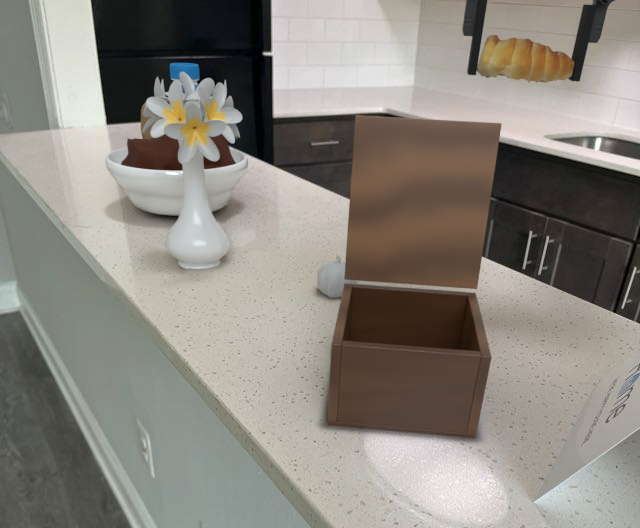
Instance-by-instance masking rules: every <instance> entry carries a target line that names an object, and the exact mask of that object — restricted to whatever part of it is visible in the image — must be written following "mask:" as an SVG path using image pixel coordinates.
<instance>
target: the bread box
mask: <svg viewBox="0 0 640 528" xmlns="http://www.w3.org/2000/svg"><path fill="white" fill-rule="evenodd" d="M330 345H331V347H330V365H329V387H328V407H327V423H326V425H327V426H333V427H344V428H354V429H355V428H356V429H366V430H376V431H377V430H378V431H389V432H399V433H400V432H401V433H410V434H411V433H412V434H423V435H433V436H434V435H435V436H445V437H455V438H456V437H457V438H467V439H476V437H477V433H478V428H479V422H480V417H481V413H482V408H483V403H484V397H485V392H486V387H487V382H488V377H489V372H490V367H491V362H492V354H491V353H492V352H491V348H490V345H489V341H488V337H487V333H486V329H485V325H484V320H483V316H482V313H481V309H480V304H479V300H478V296H477V293H476V292H469V291H468V292H467V291H457V290H456V291H455V290H446V289H445V290H443V289H431V288H429V289H428V288H417V287H416V288H414V287H402V286H389V285H386V286H385V285H375V284H362V283H361V284H360V283H356V284H347V283H345V284H344V287H343V292H342V297H340V302H339V307H338V312H337V316H336V321H335V326H334V331H333V334H332V340H331V344H330Z"/></svg>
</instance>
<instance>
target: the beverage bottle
mask: <svg viewBox="0 0 640 528" xmlns="http://www.w3.org/2000/svg"><path fill="white" fill-rule="evenodd" d="M180 72H185V73H186V74H187V75H188V76H189V77H190V78H191V79H192V81H193V83H194V85H195V90H196V89H197V87H198V85H199V83H198V81H200V67H199V64H198V63H191V62H172V63H170V64H169V75H170V80H172V81H179V82H180V84H181V81H180V77H179V74H180ZM181 86H182V84H181ZM182 91H183V93H184V94H185V90H184V88H183V86H182Z"/></svg>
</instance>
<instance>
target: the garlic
mask: <svg viewBox="0 0 640 528" xmlns="http://www.w3.org/2000/svg"><path fill="white" fill-rule="evenodd" d="M341 259H342V258H341V256H340V255H338V254H337V255H336V261H331V262H327V263H325V264H323V265H321V266H320V267H319V268H318V270H317V282H316V283H317V288H318V290H319V291H320V292H321V293H322V294H323V295H324V296H327V297H328V298H331V299H338V298H341V297H342V292H343V287H344V284H345V283H347V284H357V280H345V279H344V277H345V262H342V261H341Z"/></svg>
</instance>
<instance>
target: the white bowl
mask: <svg viewBox="0 0 640 528" xmlns="http://www.w3.org/2000/svg"><path fill="white" fill-rule="evenodd" d="M209 137H210V139H211V140H212V141H213V142H214V144H215V145H216V147H217V149H218V151H219V154H220V158H219V160H218V161H211V160H209V159H207V158H206V157H205V156H204V174H205V184H206V193H207V199H208V204H209V207H210V209H211V212H212V213H213V212H216V211H219V210H221V209H223V208H224V207H225V206H227V205H228V204H229V203H230V200H231V198H232V196H233V193H234V190H235V188H236V187H237V186H238V185H239V184H240V182H241V181H242V179H243V178H244V176H245V174H246V173H247V170H248V167H249V160H248V157H247V156H246V154H245V153H243V152H242V151H240V150H237V149H235V148H231V147H230V145H229V141H228V140H227V139H226V138H225V137H224V136H223V135H222V134H220V135H218V136H215V137H211V136H209ZM179 148H180V147H179V143H178V139H173V138H171V137H169V136H167V135H166V134H164V135H162V136H160V137H157V138H151V139H143V138H136V137H135V138H127V139H126V147H121V148H118V149H115V150H113V151H110V152H109V153H108V154H107V155H106V157H105V159H104V160H105V161H104V162H105V168H106V169H107V171H108V173H109V174H110V176H111V177H112V178H113V180H114V182H116V183H117V184H118V185H119V186H120V187H121V188H122V189H123V190H124V191H125V193H126V195H127V197H128V199H129V200H130V202H131V203H132V204H133V206H134V207H136V208H138V209H139V210H141V211H143V212H147V213H150V214H154V215H162V216H173V217H179V215H180V212H181V209H182V204H183V170H182V164H181V163H180V162H179V160H178V151H179Z"/></svg>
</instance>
